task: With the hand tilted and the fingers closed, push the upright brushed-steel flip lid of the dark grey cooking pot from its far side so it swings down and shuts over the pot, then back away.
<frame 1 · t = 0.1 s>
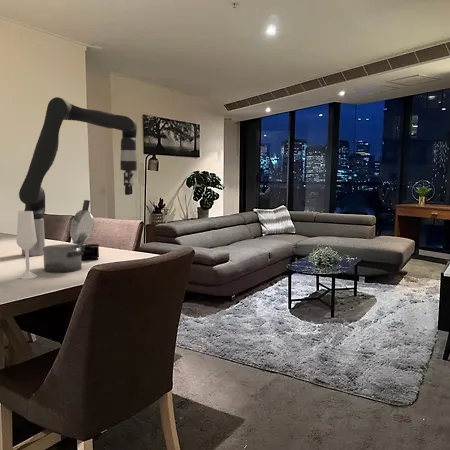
hand: (128, 194, 192), 29 cm above the table, tool pointing down, fingers open, 8 cm apart
end cap: (87, 260, 182), on the table
lid: (82, 222, 167), point 18 cm above the table, hinge at 105.0°
champagne flute: (27, 277, 148), on the table
pot: (63, 269, 161), on the table
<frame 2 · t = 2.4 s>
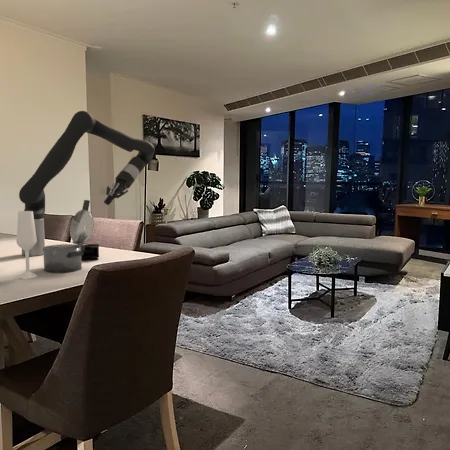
hand: (106, 203, 176), 26 cm above the table, tool tilted 45°, fingers closed
nothing on the table moved.
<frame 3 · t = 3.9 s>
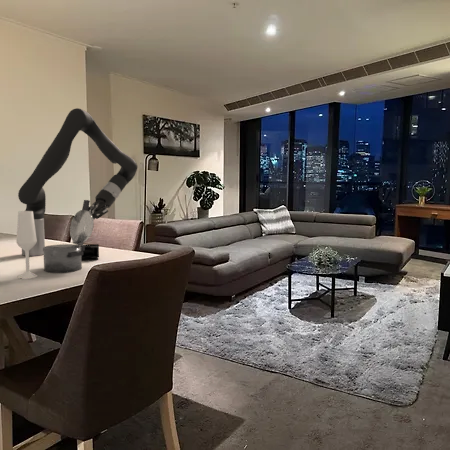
hand: (84, 224, 168), 17 cm above the table, tool tilted 45°, fingers closed
lid: (82, 222, 167), point 18 cm above the table, hinge at 104.9°, touching gripper
everything else where it was.
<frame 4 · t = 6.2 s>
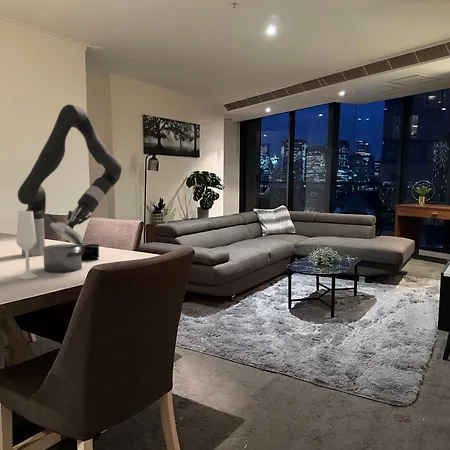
hand: (66, 230, 161), 15 cm above the table, tool tilted 45°, fingers closed
lid: (63, 229, 160), point 16 cm above the table, hinge at 43.3°, touching gripper
everything else where it was.
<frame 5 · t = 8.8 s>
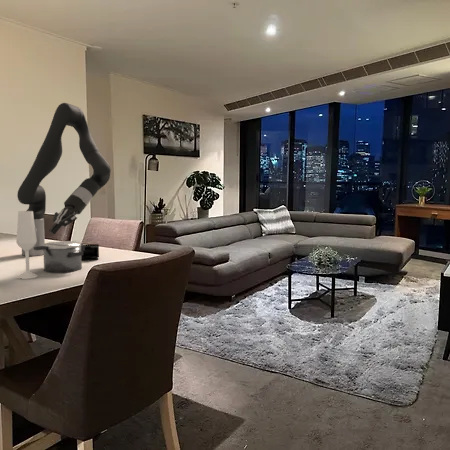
hand: (51, 232, 156), 15 cm above the table, tool tilted 45°, fingers closed
lid: (58, 245, 159), point 10 cm above the table, hinge at -0.2°
everything else where it was.
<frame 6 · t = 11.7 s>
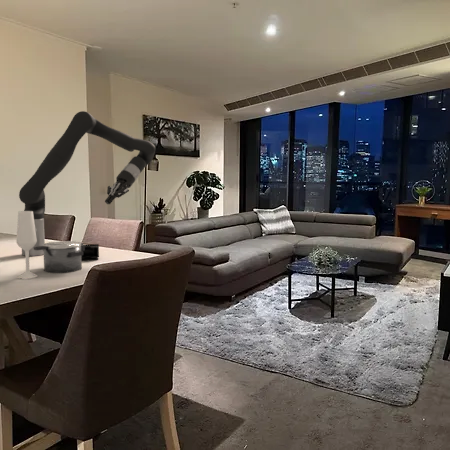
hand: (107, 203, 176), 26 cm above the table, tool tilted 45°, fingers closed
nothing on the table moved.
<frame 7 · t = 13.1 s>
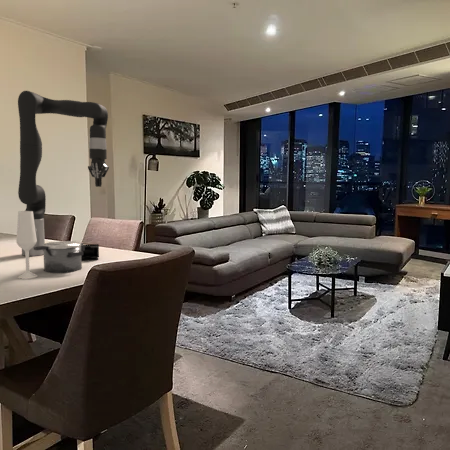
hand: (98, 186, 185), 33 cm above the table, tool pointing down, fingers closed
nothing on the table moved.
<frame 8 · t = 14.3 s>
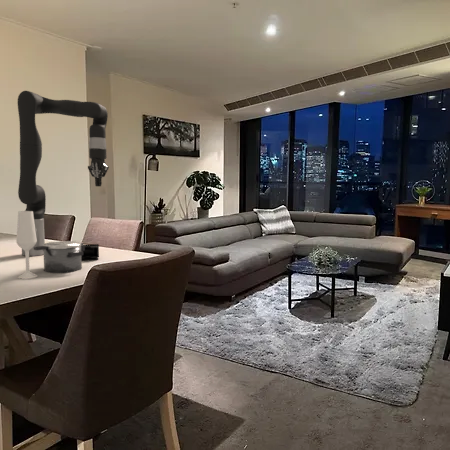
hand: (98, 186, 185), 33 cm above the table, tool pointing down, fingers closed
nothing on the table moved.
at the end: lid at +0° (first picture: +105°) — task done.
